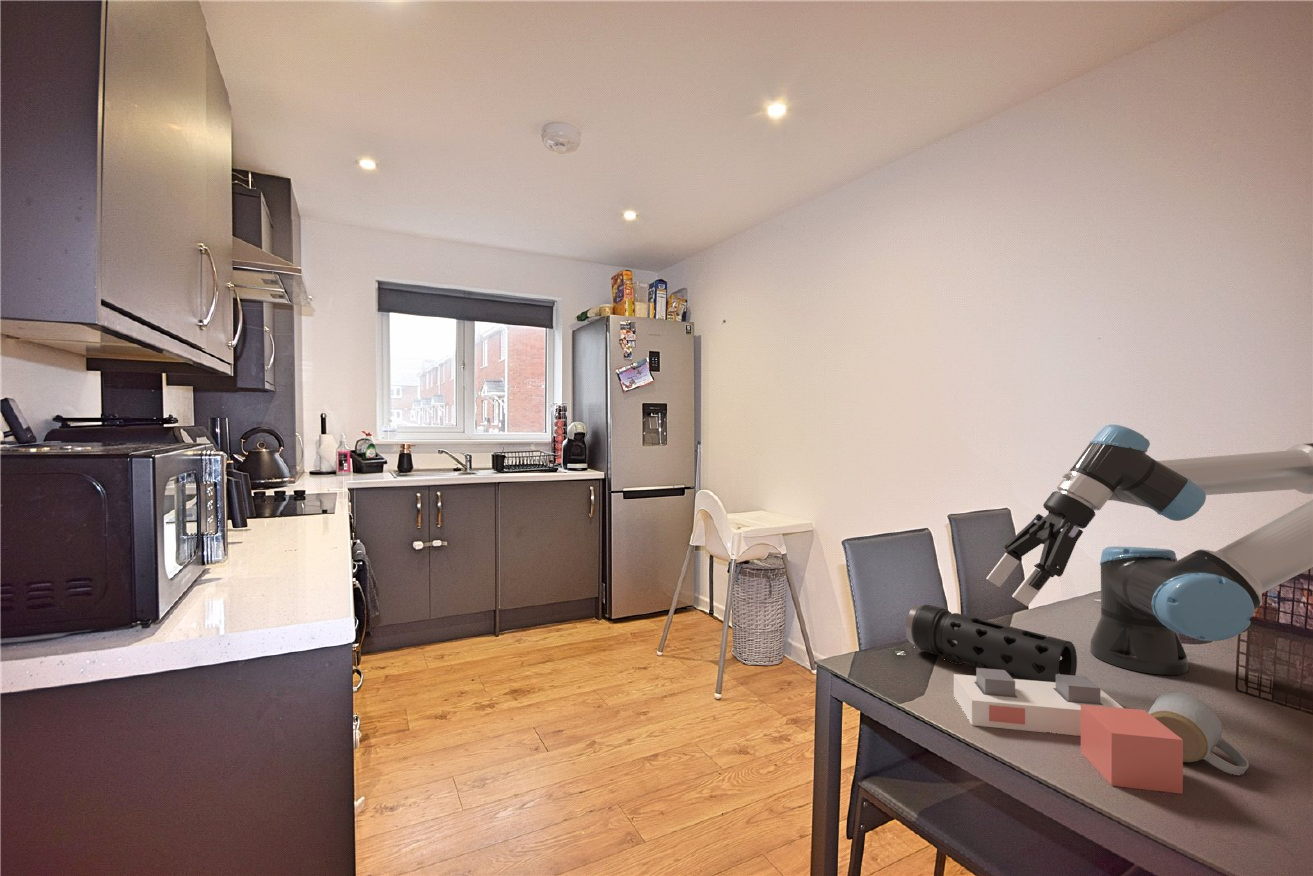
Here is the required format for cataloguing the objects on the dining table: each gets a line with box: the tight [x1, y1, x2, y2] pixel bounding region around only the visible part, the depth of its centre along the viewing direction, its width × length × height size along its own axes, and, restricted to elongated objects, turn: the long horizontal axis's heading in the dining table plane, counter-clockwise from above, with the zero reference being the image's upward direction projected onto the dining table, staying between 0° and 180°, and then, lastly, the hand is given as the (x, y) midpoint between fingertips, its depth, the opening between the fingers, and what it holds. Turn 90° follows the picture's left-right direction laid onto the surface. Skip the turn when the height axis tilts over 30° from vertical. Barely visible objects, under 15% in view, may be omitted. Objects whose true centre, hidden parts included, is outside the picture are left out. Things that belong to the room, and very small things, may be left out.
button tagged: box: [975, 667, 1015, 697], centre depth 94 cm, size 4×4×4 cm
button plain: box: [1056, 674, 1101, 705], centre depth 92 cm, size 4×4×4 cm
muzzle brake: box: [904, 604, 1078, 682], centre depth 111 cm, size 10×28×10 cm, turn 36°
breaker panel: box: [953, 673, 1124, 737], centre depth 93 cm, size 22×10×4 cm, turn 77°
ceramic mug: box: [1147, 691, 1250, 776], centre depth 81 cm, size 11×8×8 cm
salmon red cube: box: [1080, 705, 1184, 795], centre depth 78 cm, size 8×8×7 cm
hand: (1005, 591), depth 108 cm, fingers open, 13 cm apart
